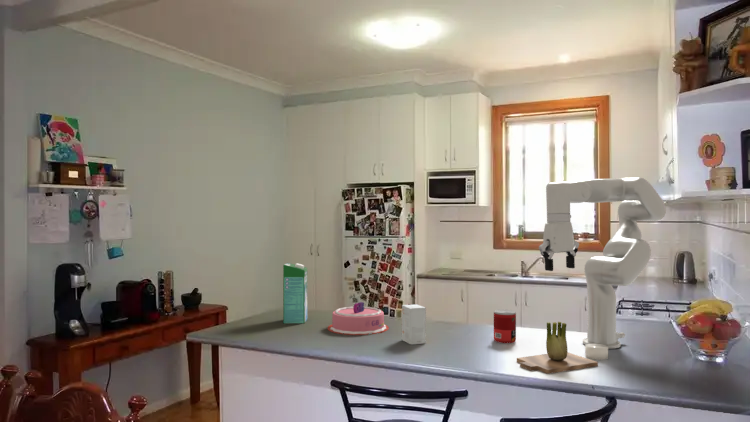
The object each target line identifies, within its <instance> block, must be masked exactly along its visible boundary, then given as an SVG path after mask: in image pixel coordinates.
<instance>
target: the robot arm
mask: <svg viewBox="0 0 750 422" xmlns="http://www.w3.org/2000/svg"><path fill="white" fill-rule="evenodd" d="M545 188H546V189H545V193H546V195H545V196H546V197H545V198H546V222H545V224H544V228H543V238H542V239H543V240H542V241H543V243H541V244H540V245H538V250H539V252H540V254H541V256H542V258H543V259H544V269H545V271H548V272H553V271H554V259H553V256H554V255H555V254H558V253H559V254H560V253H565V254H566V257H565V265H566V266H565V267H566V269H575V267H576V266H575V265H576V264H575V257H576V256H577V252H578V249H579V246H580V243H579V242H578V241H577V240H575V239H574V230H573V229H574V228H573V225H572V224H573V223H572V221H571V218H572V215H571V204H580V203H589V204H590V203H591V204H593V203H596V204H597V203H601V204H602V203H611V202H612V203H613V202H620V203H619V204H618V208H617V216H618V225H619V226H618V229H617V230H616V232H615V233H614V234H613V235H612V237H611V238H610V239H609V240H608V241H607V242H606V244H605V246H604V248H603V251H602V255H603V256H600V255H597V256H592V257H590V258H589V259H587V260H586V262H585V264H584V276H585V281H586V289H587V290H586V291H587V293H586V294H587V303H586V304H587V310H586V311H587V324H586V326H587V329H586V331H587V332H586V334H587V337H585V338H584V339H582V344H583V345H584V346H585V345H586V344H601V345H605V346H608V350H610V349H611V350H612V349H618V348H619V349H620V348H621V346H622V344H621V342H620V341H619V339H624V338H626V334H625V332H618V331H617V295H616V292H615V289H614V287H613V286H620V287H627V286H630V285H631V284H633V283H634V282H635V281H636V279H637V278H638V277H639V276H640V275H641V273H642V271H644V269H645V267H646V266H647V265H648V263H649V261H650V259H651V254H652V253H651V251H652V249H651V246H650V244H649V243H648V242H647V241H646V240H644V239H642V231H641V229H640V227H639V225H638V222H658V221H661V220H662V219H664V217H665V215H666V211H667V207H666V204H665V202H664V199H662V197H661V196H660V195H659V193H658V192H657V190H656V188H655V187H654V186H653V185H652V184H651V183H650V182H649V181H648V180H646V178H644V177H640V176H639V177H620V178H619V177H618V178H616V177H614V178H613V177H612V178H594V179H586V180H568V181H566V180H565V181H556V182H555V181H553V182H549V183H547V185H546V187H545Z"/></svg>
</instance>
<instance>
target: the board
mask: <svg viewBox="0 0 750 422" xmlns="http://www.w3.org/2000/svg"><path fill="white" fill-rule="evenodd" d="M516 363H519V367H521V368H523V369H525V370H528V371H531V372H532V371H540V372H542V373H545V374H549V375H550V374H555V373H562V372H567V371H574V370H579V369H580V370H582V369H586V368H591V367H598V365H599V362H598V361H596V360H594V359H590V358H587V357H585V356H584V357H583V356H580V355H578V354H574V353H570V352H567V357H566V359H564V360H563V361H556V360H553V359H550V358H549V356H548V354H547V353H544V354H536V355H529V356H523V357H517V358H516Z"/></svg>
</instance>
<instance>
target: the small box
mask: <svg viewBox="0 0 750 422" xmlns="http://www.w3.org/2000/svg"><path fill="white" fill-rule="evenodd" d="M401 340H402V341H403V342H405V343H407V344H408V345H420V344H421V345H422V344H426V343H427V307H425V306H423V305H419V304H417V303H416V304H402V305H401Z"/></svg>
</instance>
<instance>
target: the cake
mask: <svg viewBox="0 0 750 422" xmlns="http://www.w3.org/2000/svg"><path fill="white" fill-rule="evenodd" d="M331 316H332V319H331V320H332V321H331V322H332V323H331V324H329V325H328V326H327V330H328V331H329V332H331V333H334V334H340V335H346V336H366V335H367V336H368V334H369V333H372V334H371V335H377V333H378V334H383V333H385V332H387V331H388V330H389V329H390V327H389V326H388V325H387V324H385V314H384V310H382V309H380V308H377V307H374V306H373V307H371V306H365V302H364V301H359V302H357V303H354V305H353V306H345V307H340V308H337V309H336V310H334V311H332V315H331ZM343 333H344V334H343Z"/></svg>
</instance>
